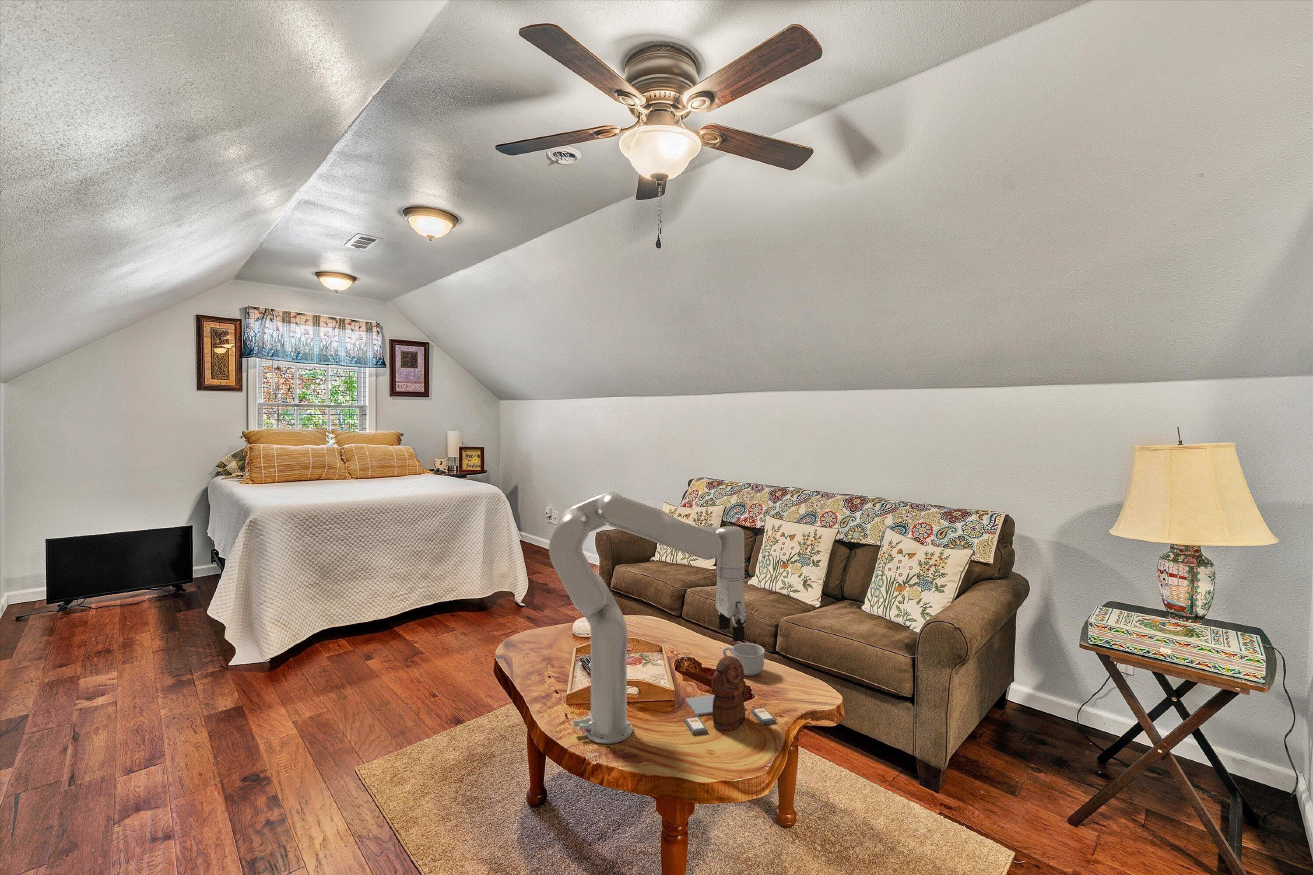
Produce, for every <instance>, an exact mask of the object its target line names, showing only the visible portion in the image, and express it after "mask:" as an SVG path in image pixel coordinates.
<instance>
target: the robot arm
mask: <svg viewBox="0 0 1313 875" xmlns="http://www.w3.org/2000/svg"><path fill="white" fill-rule="evenodd" d="M604 526H609V527H611V528H615V529H617V530H620V531H624V532H626V533H630V534H632V535H635V536H638V537H639V538H640V537H641V538H644V539H646V540H649V541H652V542H654V543H657V544H659V545H663V546H666V547H668V548H670V549H673V550H676V551H678V552H681V553H683V554H685V555H690V556H693V557H695V558H698V559H701V560H706V561H707V560H708V561H710V560H714V559H715V558H716V586H715V587H716V588H715V608H716V610H717V611H718V612H717V613H718V629H719V630H730V629H731V620H732V624H733V625H732V632H731V633H732V641H733V642H742V641H745V626H746V620H747V618H746V617H747V613H746V611H745V610H746V609H745V606H746V605H745V604H746V603H745V602H746V601H745V600H746V599H745V588H744V579H745V532H744V530H743V528H741V527H739V526H734V525H733V526H732V525H731V526H730V525H729V526H721V527H717V526H716V527H715V526H705V525H699V526H695V525H693V524H690V523H687V522H685V521H683V520H682V519H679V518H677V517H674V516H673V515H671V514H670V513H668V512H666V511H665V510H661V509H659V508H656V507H654V506H650V505H647V504H645V503H641V502H640V501H639V502H638V501H636V500H632V499H630V498H628V497H625V496H623V495H621V494H620V493H618V492H615V491H609V492H604V493H602V494H600V495H598V496H596V497H594V498H591V499H589V500H586V501H584V502H582V503H579V504H577V505H574V506H572V507H570V508H567V509H566V510H564V512H563V513H561V515H560V516H559V518H558V521H557V524H556V526H555V528H554V530H553V533H552V534H551V537H550V540H549V544H548V554H549V558H550V561H551V565H552V566H553V568H554V570H555V572H556V573H557V575H558V578H559V579H560V582H561V584H562V586H563V587H564V589H565V591H566V593H567V594H568V596H569V598H570V600H571V603H572V604H573V606H574V607H575V609H576V610H577V611H578V612H580V613H581V614H582V615H583V616H584V618H585V620H586V621H587V623H588V625H589V632H590V711H589V712H587V713H588V714H587V716H584V718H574V719H572V727H573V728H578V730H579V731H584V734H585V736H586V738H587V739H588V740H590V741H591V742H595V743H597V744H617V743H619V742H622V741H623V742H624V741H625V740H626V739H628V738H629V737H631V735H632V733H633V725H632V723H631V722H630V721H629V720H628V719H627V718H628V716H627V714H628V712H627V710H628V709H627V706H628V704H627V703H628V701H627V699H628V697H627V696H628V693H627V692H628V690H627V689H628V688H627V687H628V686H627V685H628V684H627V683H628V674H627V669H628V668H627V665H628V663H627V662H628V660H627V659H628V657H627V656H628V654H627V653H628V642H629V640H628V639H629V635H628V633H629V632H628V628H627V623H626V619H625V617H624V614H623V612H622V610H621V608H620V607H619V606H620V605H618V603H617V601H616V599H615V598H614V596H613V593H611V590H610V588H609V587H608V585H607V583H606V582H605V580H604V579H603V577H602V576H601V575H600V574H599V573H597V572H596V571H594V570H593V568H592V566H591V565H590V563H589V560H588V559H587V557H586V555H585V554H584V552H583V545H584V542H585V541H586V539H587V537H589V534H590V533H591V532H594V531H596V530H598V529H601V528H603V527H604Z"/></svg>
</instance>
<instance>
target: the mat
mask: <svg viewBox="0 0 1313 875" xmlns="http://www.w3.org/2000/svg"><path fill="white" fill-rule="evenodd" d="M714 696H715V695H714V694H711V695H709V694H708V695H702V696H700V695H699V696H694V697H687V698H686V697H685V702H686V703H687V705H688V706H689V707H690V709H691V710H692V712H693V713H694V714H695V715H696V716H695V717H700V716H701V717H702V716H706V715H713V708H712V707H713V698H714ZM744 707H745V710H747V707H746V705H745V704H744Z"/></svg>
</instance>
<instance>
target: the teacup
mask: <svg viewBox="0 0 1313 875" xmlns="http://www.w3.org/2000/svg"><path fill="white" fill-rule="evenodd" d="M727 651H729V652H730V654H731V656H732V657H735V658H737V659H738V660H739V661H740V662H741V664H742V666H743V670H744V677H753V676H756V675H758V674H759V673H760V672H762V671H763V670H764V667H765V652H766V650H765V649H764V647H763V646H761V645H759V644H757V643H752V642H740V643H737V644H735V645H733V646H732V647H731V646H725V647H724V648H723V651H722V655H723V657H726V656H728V654H727Z"/></svg>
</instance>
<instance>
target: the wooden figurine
mask: <svg viewBox="0 0 1313 875" xmlns="http://www.w3.org/2000/svg"><path fill="white" fill-rule="evenodd" d="M746 687H747V683H746V681H745V675H744V670H743V666H742V664H741V662H740V661H739V660H738V659H737V658H735V657H732V655H727V656H726V657H724V656H723V657H722V658H721V659H719V661H718V662H717V664H716V668H715V671H714V673H713V675H712V678H711V693H712V695H715V696H714V698H713V707H712V708H713V714H712V720H713V726H714V727H713V728H714V729H715V730H717V731H734V730H737V729H738V728H739V726H741V724H743V723H744V721H743V720H744V719H746V709H745V707H746V706H745V707H744V705H745V701H744V697H745V696H746V691H747V690H746Z"/></svg>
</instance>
